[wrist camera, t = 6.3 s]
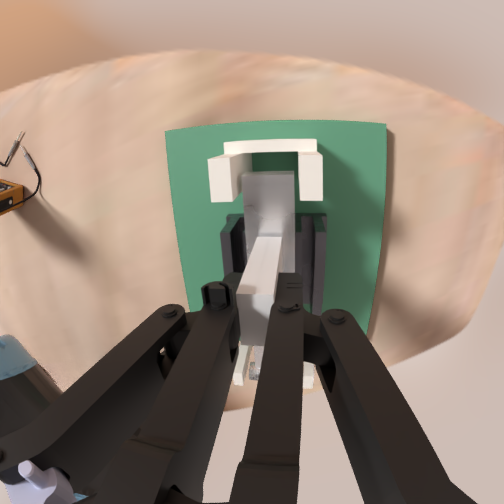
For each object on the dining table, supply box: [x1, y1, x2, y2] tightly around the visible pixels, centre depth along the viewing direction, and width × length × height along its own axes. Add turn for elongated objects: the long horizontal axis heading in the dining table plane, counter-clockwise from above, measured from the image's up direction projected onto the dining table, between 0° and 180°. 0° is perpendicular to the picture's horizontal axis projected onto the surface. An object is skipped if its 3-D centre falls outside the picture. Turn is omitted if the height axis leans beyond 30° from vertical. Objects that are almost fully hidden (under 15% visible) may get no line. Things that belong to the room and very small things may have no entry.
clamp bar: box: [241, 171, 295, 380], centre depth 20 cm, size 17×4×2 cm, turn 3°
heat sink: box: [220, 213, 327, 316], centre depth 23 cm, size 8×8×5 cm
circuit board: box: [165, 120, 387, 388], centre depth 21 cm, size 21×18×9 cm
